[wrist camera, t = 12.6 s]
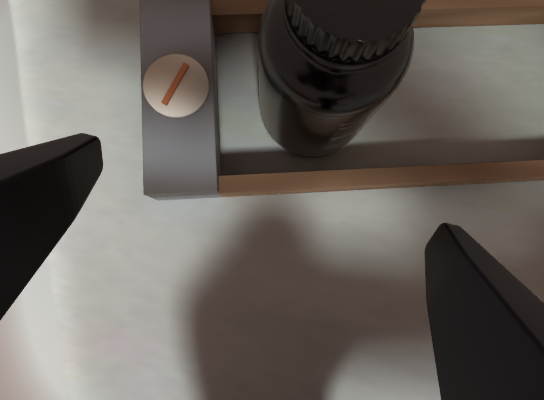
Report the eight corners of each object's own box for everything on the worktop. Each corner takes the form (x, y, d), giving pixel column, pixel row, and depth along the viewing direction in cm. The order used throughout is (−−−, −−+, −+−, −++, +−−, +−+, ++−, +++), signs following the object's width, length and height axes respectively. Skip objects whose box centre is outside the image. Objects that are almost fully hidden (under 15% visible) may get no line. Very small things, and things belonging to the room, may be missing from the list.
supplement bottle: (359, 59, 24) (458, -113, 12) (362, 159, 24) (471, 77, 12) (257, 58, 24) (259, -121, 12) (257, 158, 23) (258, 73, 11)
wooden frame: (625, 175, 24) (689, 164, 21) (158, 200, 23) (140, 193, 19) (597, 8, 26) (653, -29, 22) (153, 21, 24) (136, -18, 20)
